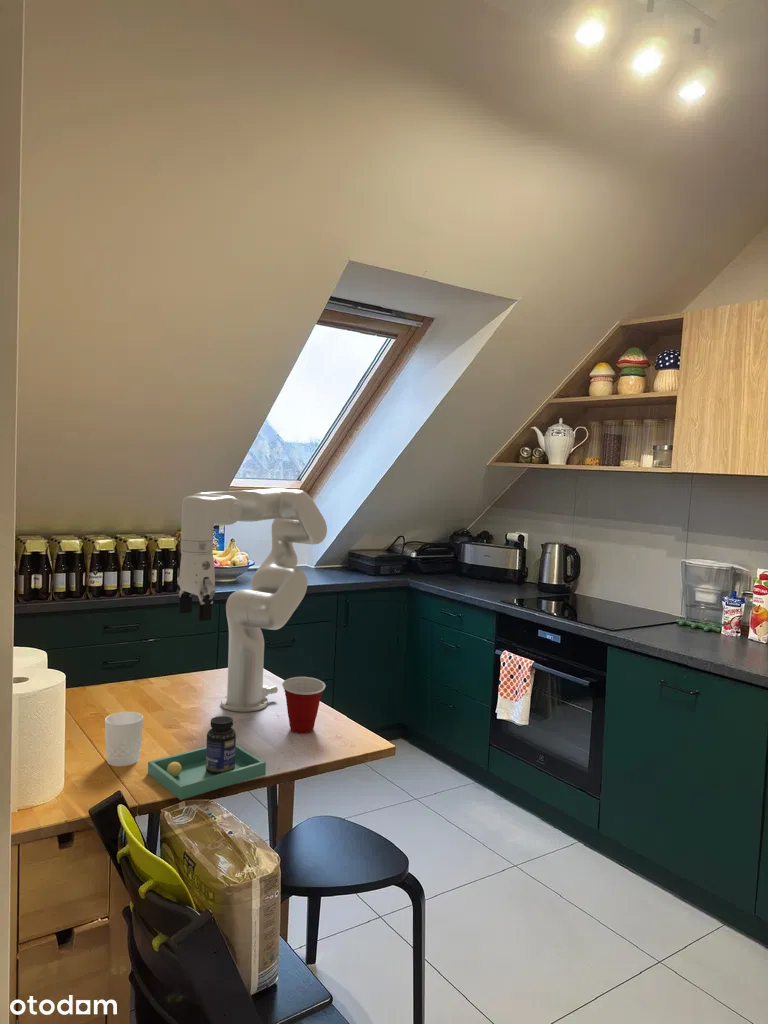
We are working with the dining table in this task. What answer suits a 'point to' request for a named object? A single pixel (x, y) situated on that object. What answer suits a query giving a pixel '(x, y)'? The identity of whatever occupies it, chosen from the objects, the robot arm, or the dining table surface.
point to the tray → (203, 772)
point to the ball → (174, 769)
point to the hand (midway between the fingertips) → (194, 616)
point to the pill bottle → (220, 746)
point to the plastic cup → (302, 702)
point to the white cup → (123, 738)
